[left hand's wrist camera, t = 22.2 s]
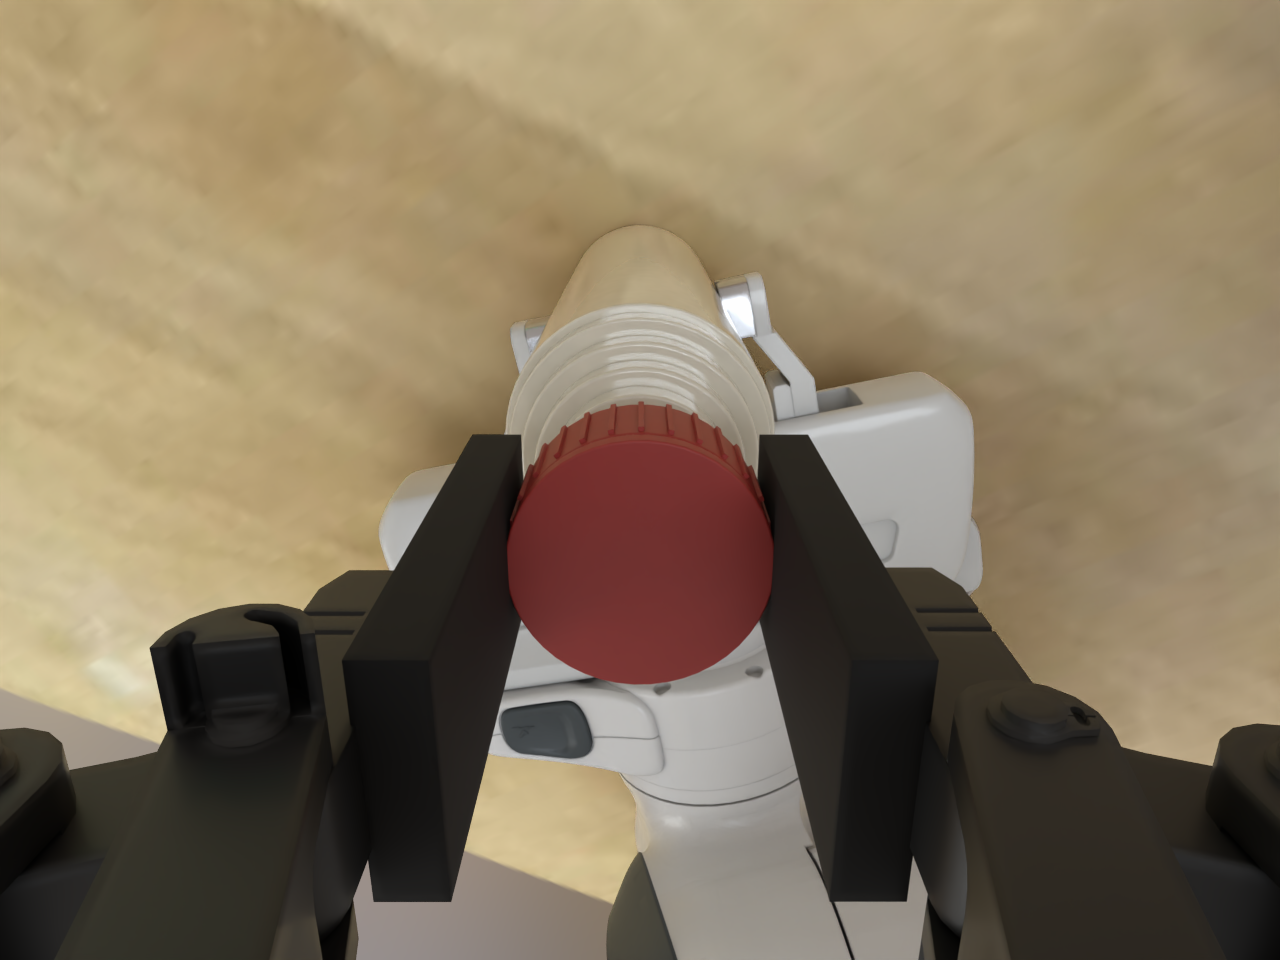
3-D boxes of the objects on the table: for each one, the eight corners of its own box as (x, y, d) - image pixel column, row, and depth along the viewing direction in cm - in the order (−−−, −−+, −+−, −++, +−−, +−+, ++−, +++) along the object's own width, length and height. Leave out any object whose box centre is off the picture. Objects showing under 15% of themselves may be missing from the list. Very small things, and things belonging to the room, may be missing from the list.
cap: (468, 530, 14) (443, 583, 13) (626, 346, 13) (624, 377, 12) (651, 667, 15) (653, 734, 13) (814, 505, 14) (838, 556, 12)
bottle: (589, 376, 36) (510, 734, 14) (556, 242, 35) (406, 412, 12) (720, 348, 36) (850, 670, 14) (694, 210, 34) (794, 328, 12)
